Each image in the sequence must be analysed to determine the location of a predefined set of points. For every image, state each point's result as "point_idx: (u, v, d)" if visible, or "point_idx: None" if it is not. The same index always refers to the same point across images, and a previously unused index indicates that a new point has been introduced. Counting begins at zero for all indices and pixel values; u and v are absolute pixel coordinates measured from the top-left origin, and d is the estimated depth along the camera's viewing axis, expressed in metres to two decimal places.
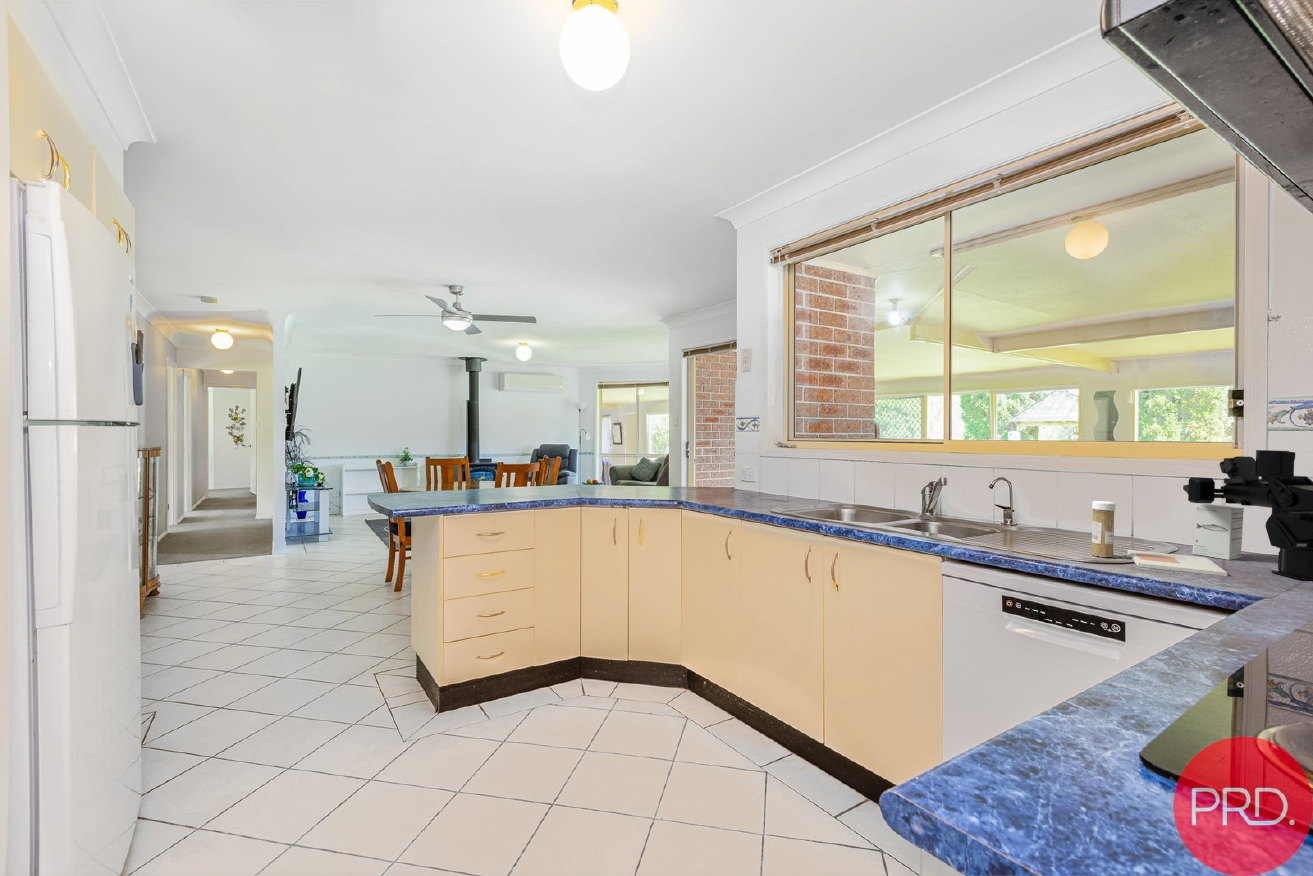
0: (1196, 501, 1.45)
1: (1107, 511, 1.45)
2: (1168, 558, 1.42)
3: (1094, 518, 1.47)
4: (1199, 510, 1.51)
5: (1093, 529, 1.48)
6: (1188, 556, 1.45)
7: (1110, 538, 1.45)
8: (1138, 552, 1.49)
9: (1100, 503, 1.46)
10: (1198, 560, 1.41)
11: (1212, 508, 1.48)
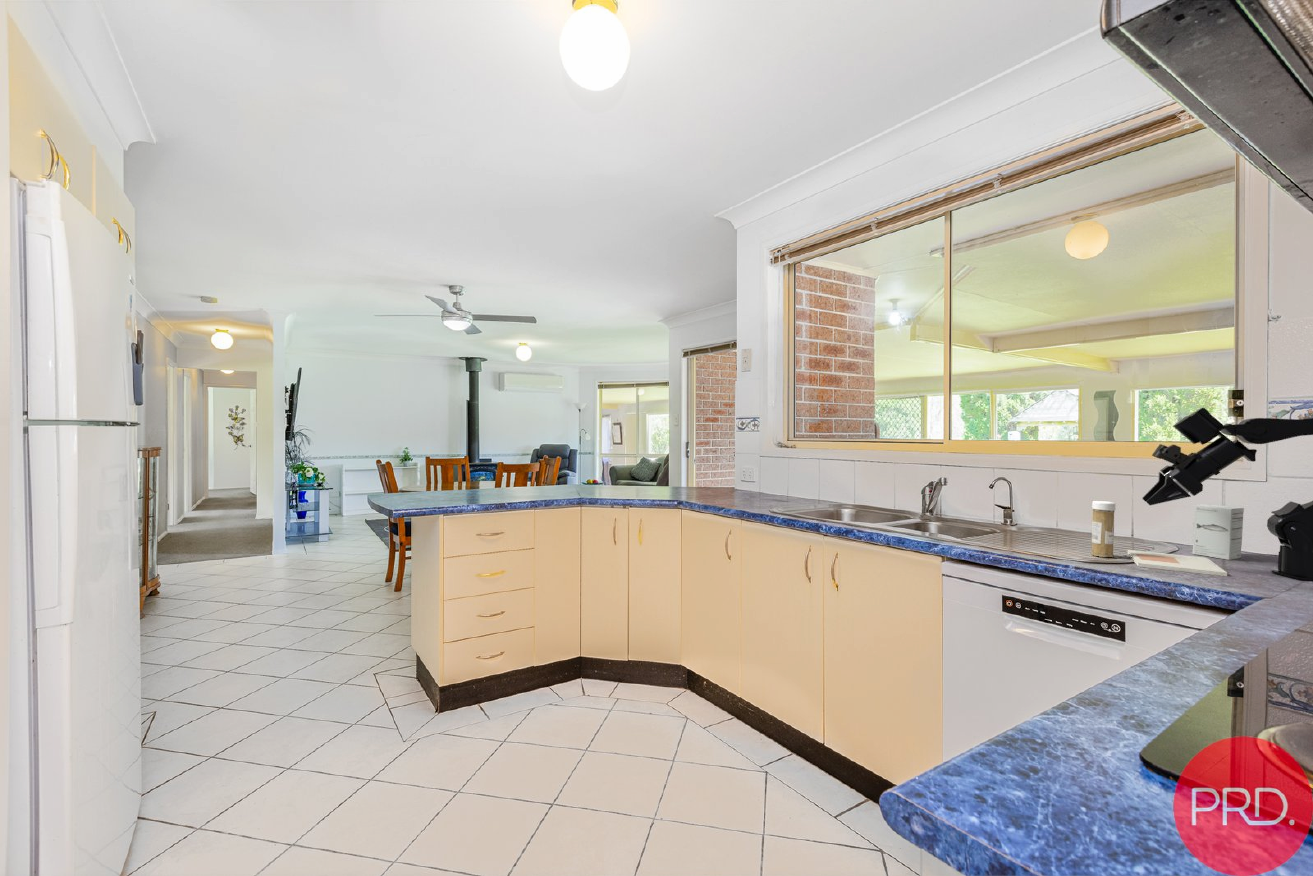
0: (1201, 488, 1.31)
1: (1107, 511, 1.45)
2: (1168, 558, 1.42)
3: (1094, 518, 1.47)
4: (1199, 510, 1.51)
5: (1093, 529, 1.48)
6: (1188, 556, 1.45)
7: (1110, 538, 1.45)
8: (1138, 552, 1.49)
9: (1100, 503, 1.46)
10: (1198, 560, 1.41)
11: (1212, 508, 1.48)
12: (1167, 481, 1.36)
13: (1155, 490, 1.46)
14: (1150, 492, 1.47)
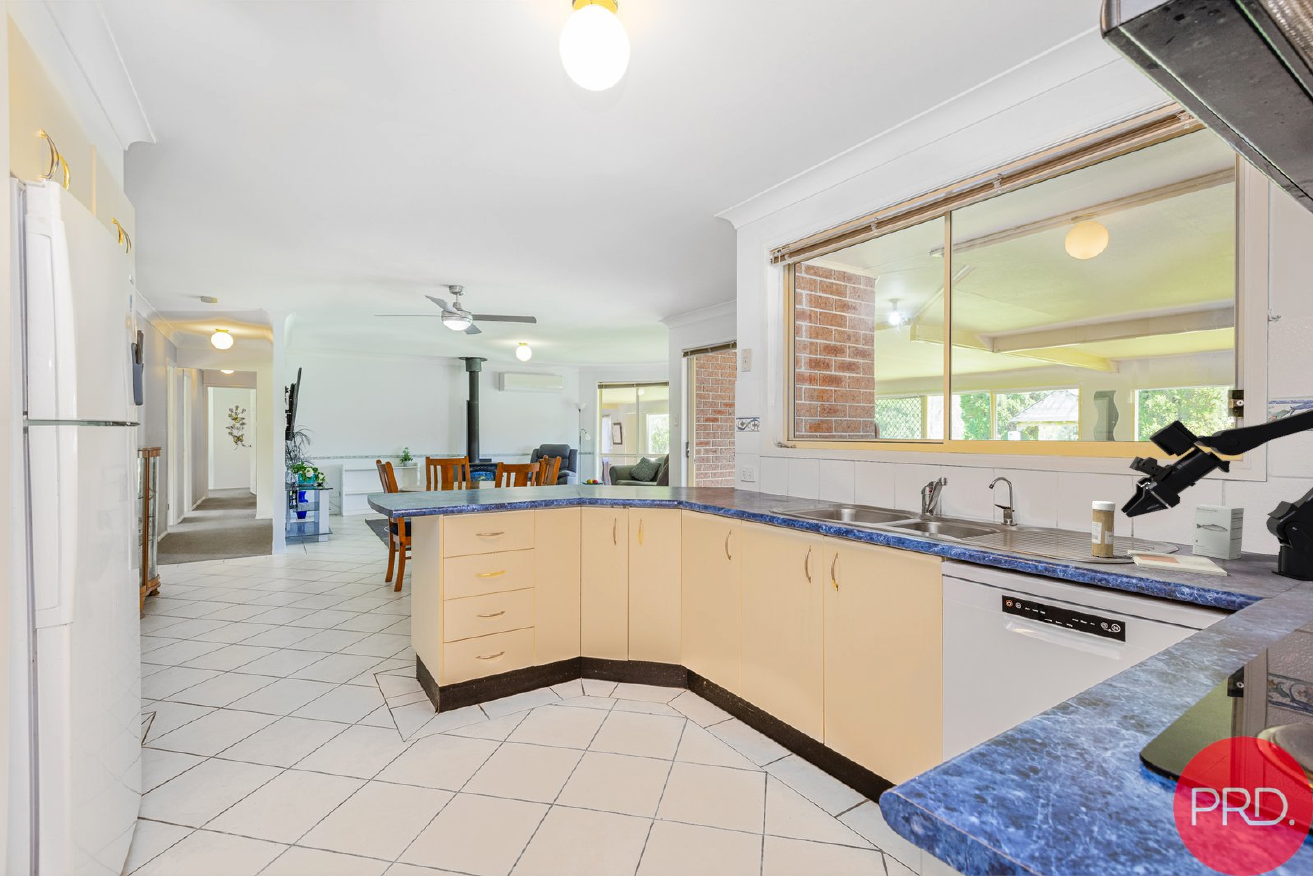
0: (1179, 501, 1.33)
1: (1107, 511, 1.45)
2: (1168, 558, 1.42)
3: (1094, 518, 1.47)
4: (1199, 510, 1.51)
5: (1093, 529, 1.48)
6: (1188, 556, 1.45)
7: (1110, 538, 1.45)
8: (1138, 552, 1.49)
9: (1100, 503, 1.46)
10: (1198, 560, 1.41)
11: (1212, 508, 1.48)
12: (1145, 493, 1.38)
13: (1133, 501, 1.48)
14: (1128, 504, 1.48)
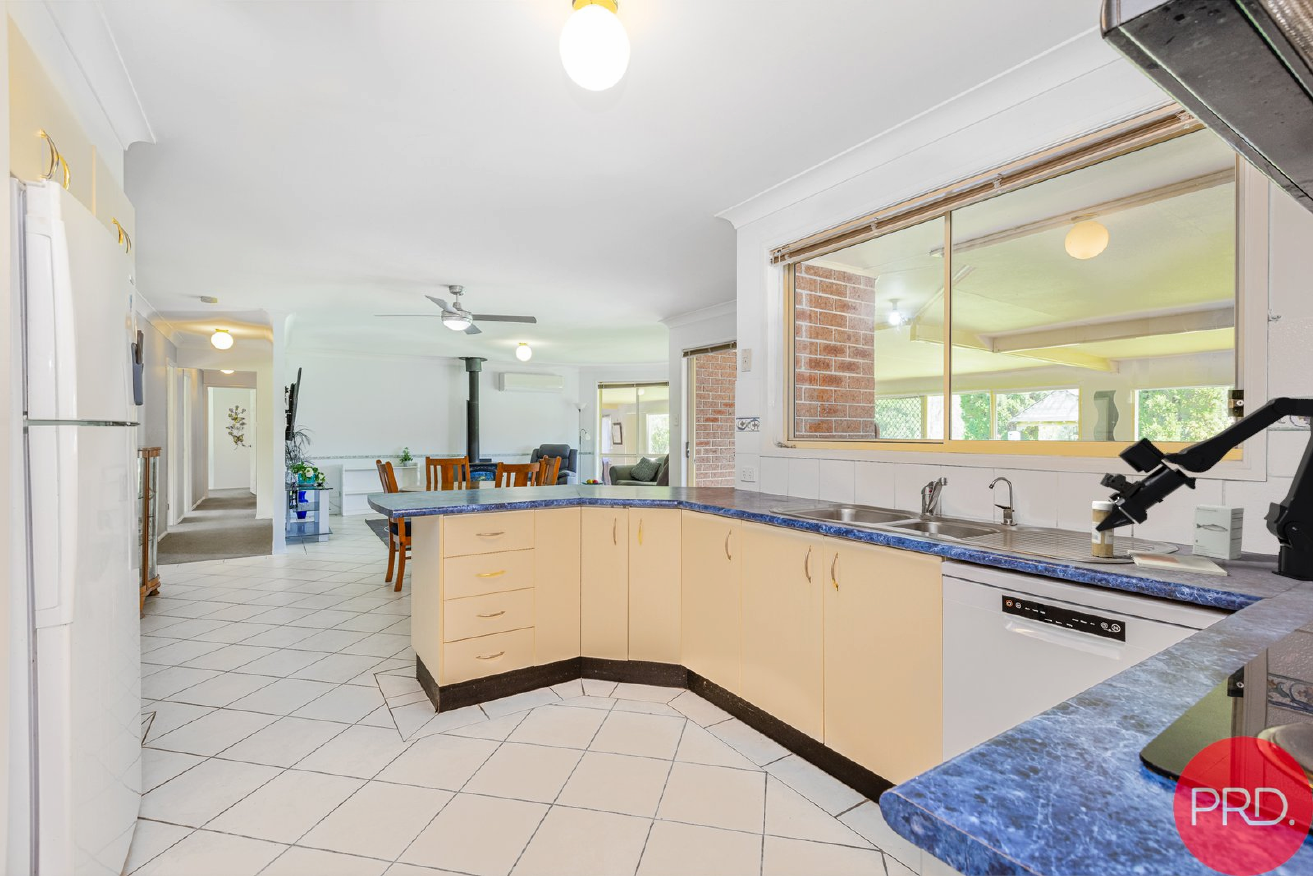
0: (1146, 517, 1.36)
1: (1107, 511, 1.45)
2: (1168, 558, 1.42)
3: (1094, 518, 1.47)
4: (1199, 510, 1.51)
5: (1093, 529, 1.48)
6: (1188, 556, 1.45)
7: (1110, 538, 1.45)
8: (1138, 552, 1.49)
9: (1100, 503, 1.46)
10: (1198, 560, 1.41)
11: (1212, 508, 1.48)
12: (1113, 509, 1.43)
13: None
14: None
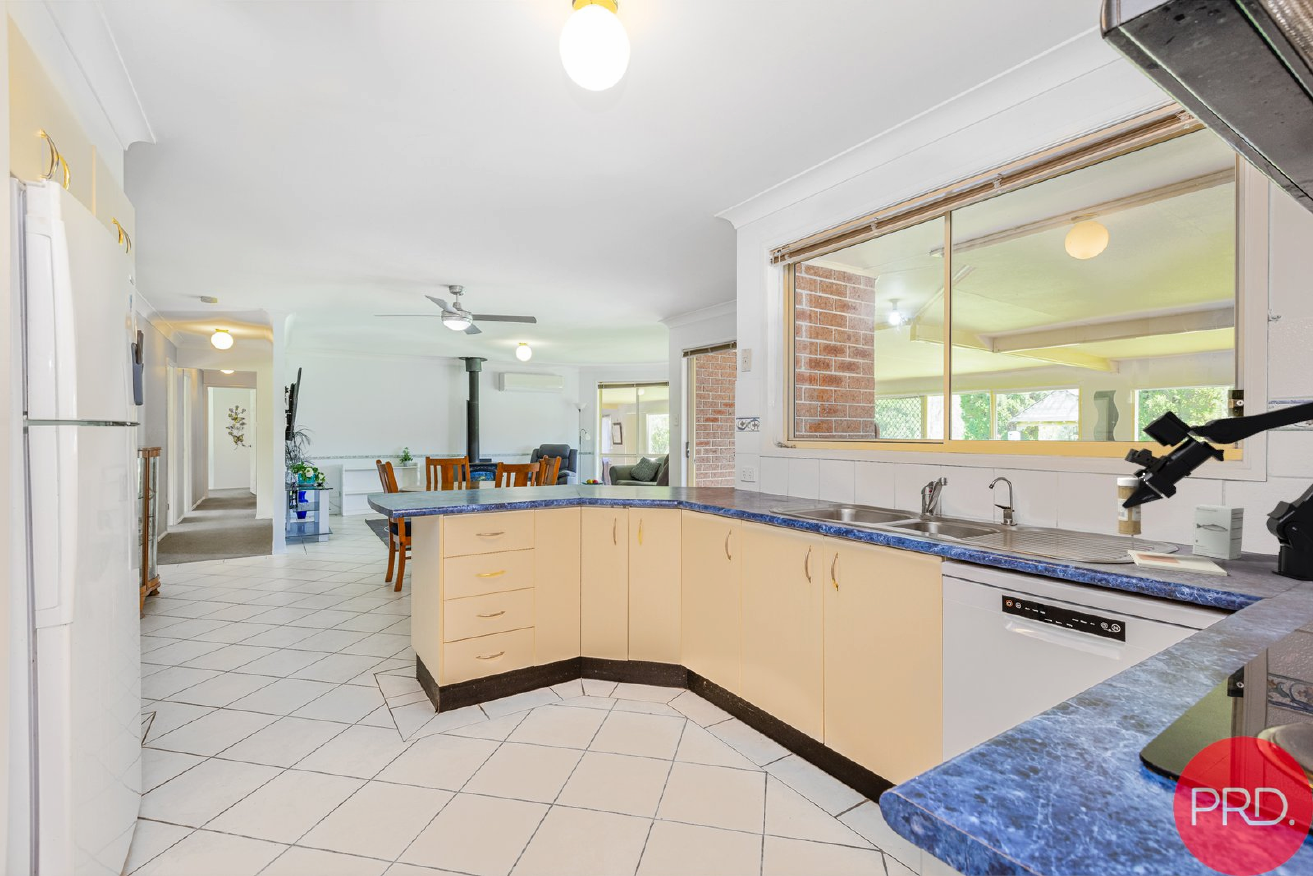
0: (1175, 491, 1.33)
1: (1133, 487, 1.43)
2: (1168, 558, 1.42)
3: (1120, 495, 1.45)
4: (1199, 510, 1.51)
5: (1119, 506, 1.45)
6: (1188, 556, 1.45)
7: (1138, 514, 1.42)
8: (1138, 552, 1.49)
9: (1126, 479, 1.43)
10: (1198, 560, 1.41)
11: (1212, 508, 1.48)
12: (1140, 484, 1.40)
13: None
14: None
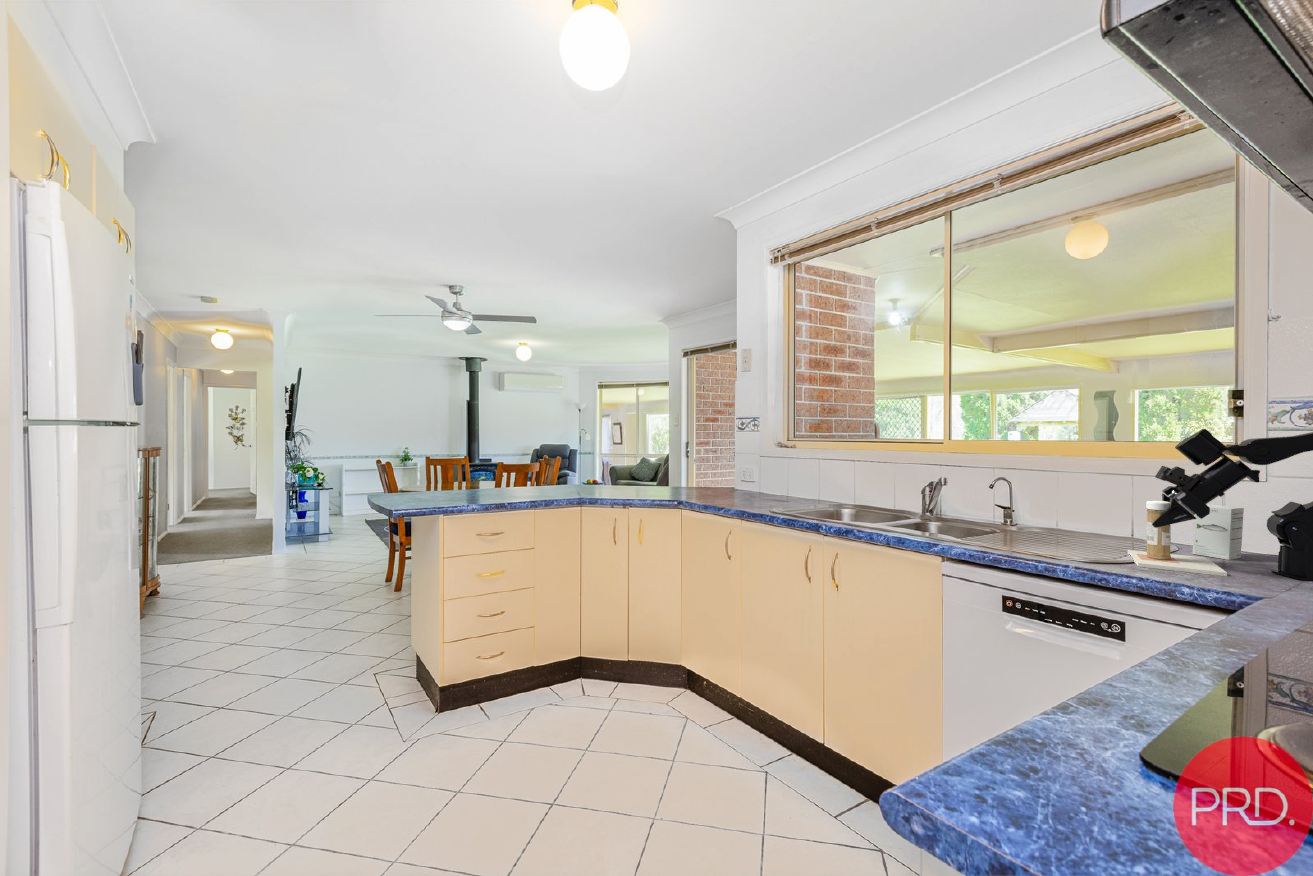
0: (1208, 511, 1.30)
1: (1163, 511, 1.40)
2: None
3: (1149, 518, 1.42)
4: None
5: (1148, 530, 1.42)
6: (1188, 556, 1.45)
7: (1168, 539, 1.40)
8: (1138, 552, 1.49)
9: (1155, 503, 1.40)
10: (1198, 560, 1.41)
11: (1212, 508, 1.48)
12: (1172, 503, 1.36)
13: None
14: None
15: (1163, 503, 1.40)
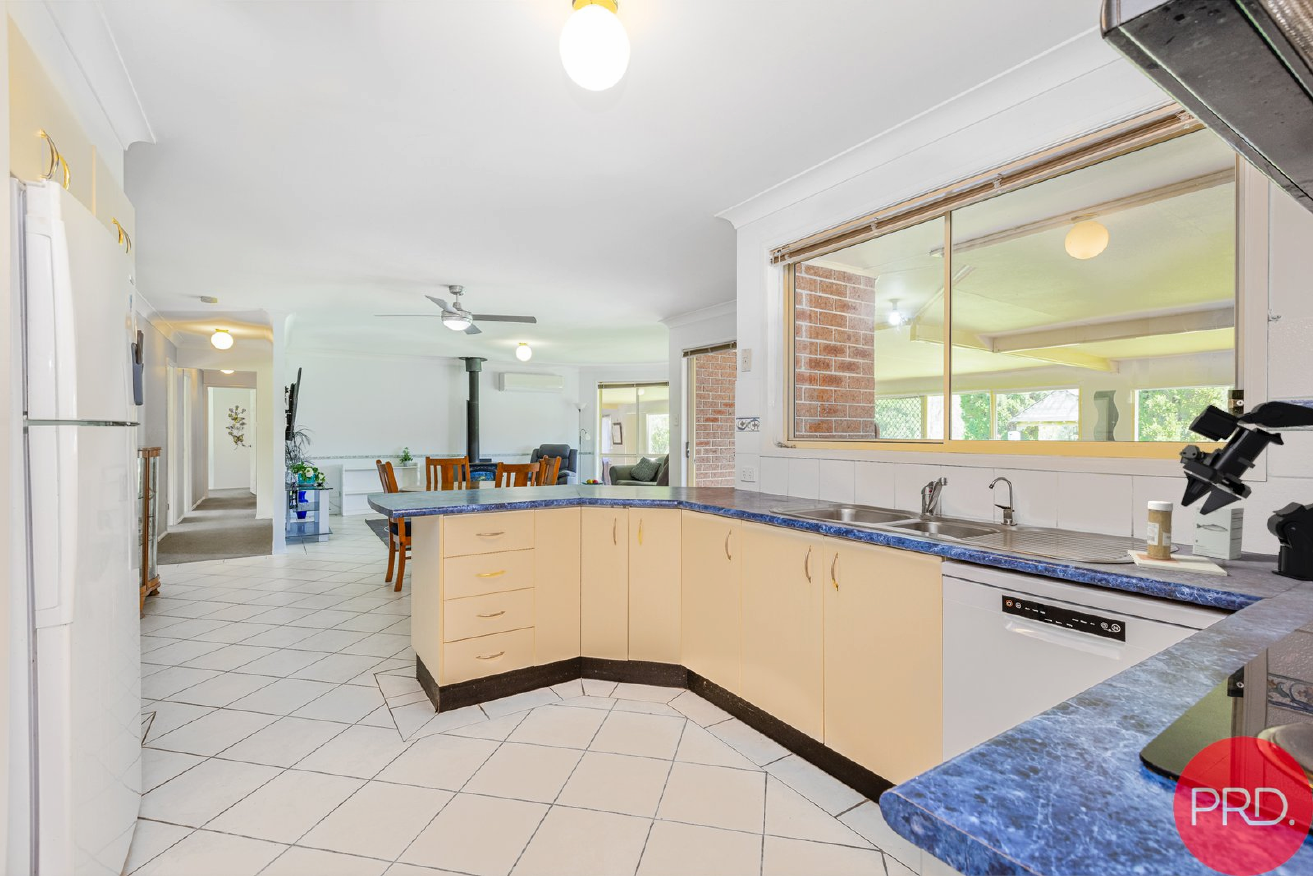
0: (1215, 472, 1.30)
1: (1165, 511, 1.40)
2: None
3: (1150, 519, 1.42)
4: (1199, 510, 1.51)
5: (1149, 530, 1.42)
6: (1188, 556, 1.45)
7: (1168, 539, 1.40)
8: (1138, 552, 1.49)
9: (1157, 503, 1.40)
10: (1198, 560, 1.41)
11: None
12: (1187, 477, 1.36)
13: (1209, 501, 1.40)
14: (1205, 504, 1.41)
15: (1165, 503, 1.40)
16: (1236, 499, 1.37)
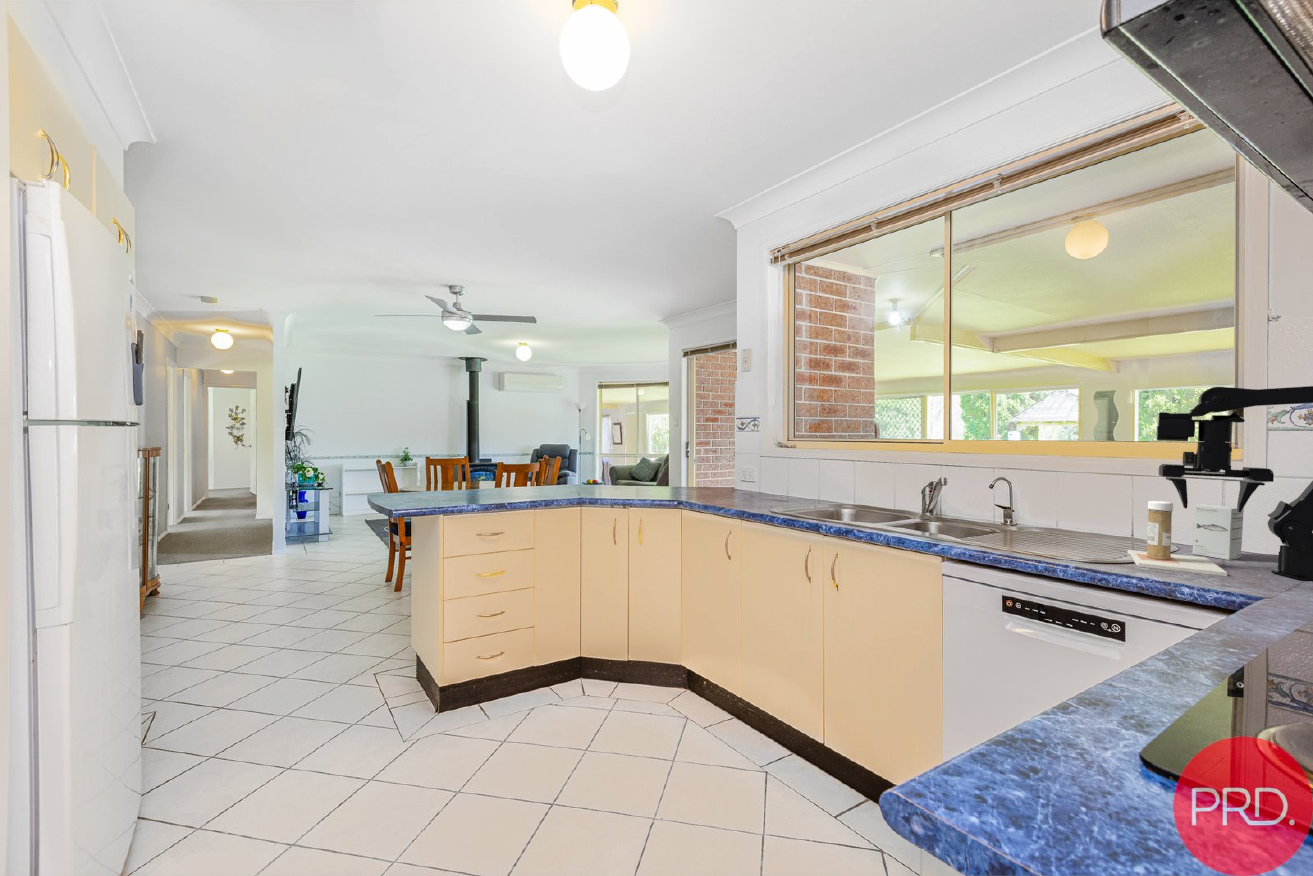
0: (1164, 468, 1.40)
1: (1165, 511, 1.40)
2: None
3: (1150, 519, 1.42)
4: (1199, 510, 1.51)
5: (1149, 530, 1.42)
6: (1188, 556, 1.45)
7: (1168, 539, 1.40)
8: (1138, 552, 1.49)
9: (1157, 503, 1.40)
10: (1198, 560, 1.41)
11: (1212, 508, 1.48)
12: (1172, 481, 1.43)
13: (1239, 497, 1.36)
14: (1238, 501, 1.36)
15: (1165, 503, 1.40)
16: (1252, 485, 1.32)
